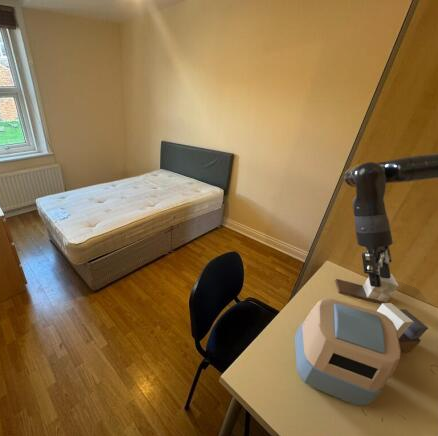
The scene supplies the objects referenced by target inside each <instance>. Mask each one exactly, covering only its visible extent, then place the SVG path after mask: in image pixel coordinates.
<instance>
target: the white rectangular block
mask: <svg viewBox="0 0 438 436" xmlns="http://www.w3.org/2000/svg"><path fill="white" fill-rule="evenodd" d="M376 311H377V312H379V313H382V314H384V315H386V316H387V317H388V318H389V319H390V320H391V321H392V322H393V323H394V325H395V327H396V329H397V334H398V339H399V338H400V336H401V335H402V334H403V333H404V332H405V331H406V330H407V328H408V327H409V326H410V325H411V324H412V323H413V321H412V320H411V319H410V318H408V317H407V316H406V315H405V314H404V313H402V312H401V311H400V309H399V308H398V307H397V306H396V305H395V304H393V303H392V302H386V303H382V304H380V306H379V307H378V308H377V310H376Z"/></svg>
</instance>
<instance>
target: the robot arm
mask: <svg viewBox="0 0 438 436" xmlns="http://www.w3.org/2000/svg"><path fill="white" fill-rule="evenodd" d="M436 179H438V153H428V154H427V153H426V154H419V155H412V156H407V157H405V156H404V157H399V158H395V159H391V160H387V161H379V162H376V161H366V162H363V163H359V164H355V165H353V166H351V167H349V168H348V169H347V170H346V171H345V172H344V175H343V180H344V182H345V183H346V185H348V186H349V187H352V188H355V194H356V196H355V197H354V198H352V202H351V204H352V210H353V218H354V229H355V235H356V241H357V245H358V246H360V247H364V248H366V249H365V250H366V251H365V252H361V261H362V265H363V273H364V274H366V275H368V277H369V280H370V285H371V286H373V287H381V280H380V277H381V278H388V279H389V278H390V277H391V275H390V274H391V270H390V265H391V263H392V261H393V260H392V257H391V256H392V255H391V250H390V246H391V245H393V242H394V241H393V237H392V230H391V225H390V219H389V217H388V214H387V207H386V202H385V195H386V189H387V184H400V183H411V182H419V181H429V180H436ZM371 268H372V269H371Z"/></svg>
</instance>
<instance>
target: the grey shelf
mask: <svg viewBox="0 0 438 436" xmlns="http://www.w3.org/2000/svg"><path fill="white" fill-rule="evenodd" d="M399 310H400V311H401V312H402V313H404V314H405V315H406V316H407V317H408V318H410V319H411V320H412V321H413V323H412V324H411V325H410V326H409V327H408V328H407V330H406V331H405V332H404V333H403V334H402V335H401V336H400V338H399V344H400V350H401V353H400V354H404V353H411V352H412V351H413V350H414V349H416V347H417V346H418V345H419V344H420V343H421V342H422V339H420V338H421V336H423V335H424V333H426V331H428V329H429V327H428V326H427V325H426V324H425V323H423V322H422V321H421V320H420V319H418V318H417V317H416V316H415V315H414V314H413V313H411V312H410V311H408V310H407V309H406V308H401V309H399Z"/></svg>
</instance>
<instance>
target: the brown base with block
mask: <svg viewBox="0 0 438 436" xmlns="http://www.w3.org/2000/svg"><path fill="white" fill-rule="evenodd" d="M390 275H391V277H390V278H389V279H388V278H381V277H380V280H381V287H373V286H371V285H370V280H369V276H368V277H367V279H366V280H365V282H364V283H363V285H362V284H359V283H354V282H350V281H346V280H343V279H339V278H335V280H334V282H335V285H336V288H337V292H338V294H341V295H344V296H349V297H352V298H355V299H360V300H363V301H367V302H370V303H374V304H378V305H381V304H382V303H388V301H389V300H390V298H391V297H392V296H393V294H394V293H395V292H396V290H397V289H398V287H399V286H400V285H399V283H398V282H397V280H396V278H395V276H394V275H393V274H392V273H390Z"/></svg>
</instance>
